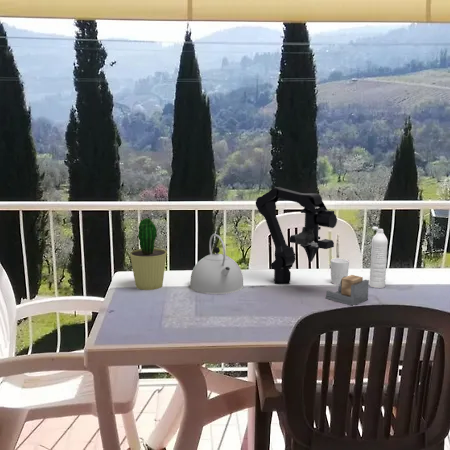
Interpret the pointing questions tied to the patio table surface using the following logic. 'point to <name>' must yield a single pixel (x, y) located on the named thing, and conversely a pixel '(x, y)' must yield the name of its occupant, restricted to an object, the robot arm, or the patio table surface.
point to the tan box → (349, 283)
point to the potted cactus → (148, 258)
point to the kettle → (216, 273)
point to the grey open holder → (357, 294)
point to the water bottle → (378, 259)
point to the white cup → (339, 270)
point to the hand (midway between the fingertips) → (310, 261)
